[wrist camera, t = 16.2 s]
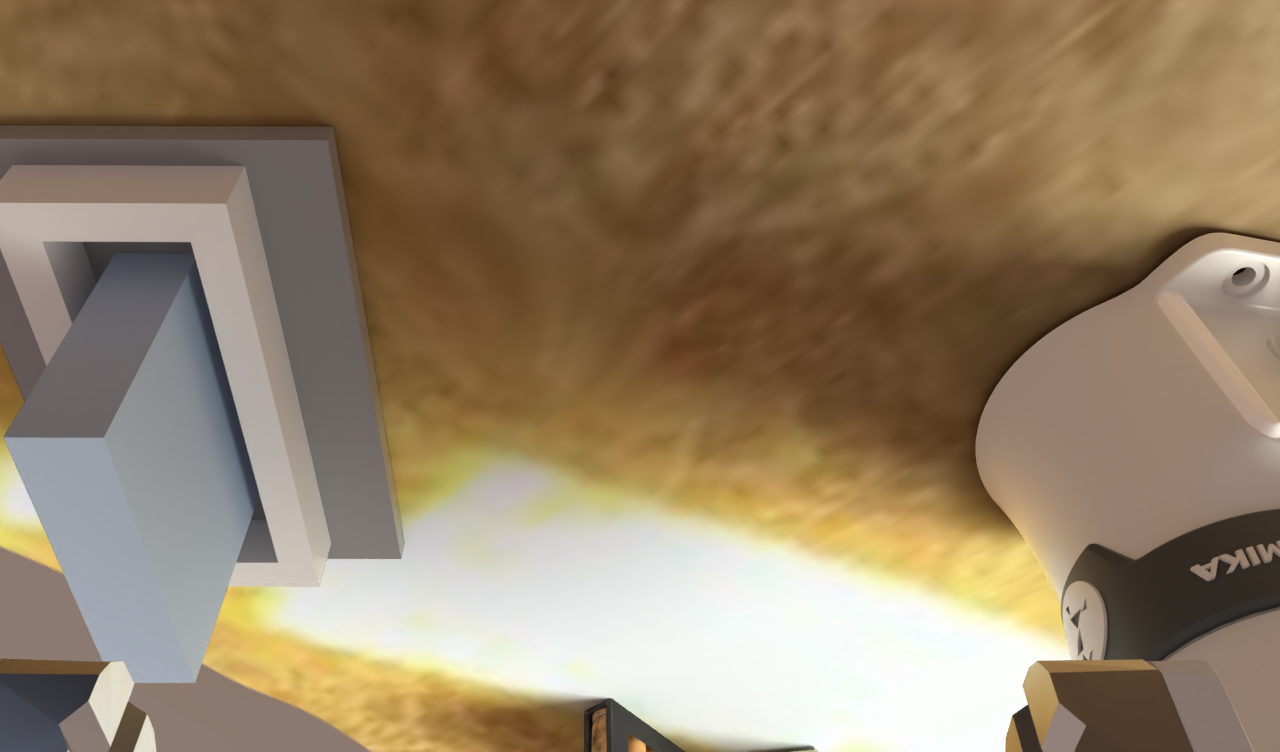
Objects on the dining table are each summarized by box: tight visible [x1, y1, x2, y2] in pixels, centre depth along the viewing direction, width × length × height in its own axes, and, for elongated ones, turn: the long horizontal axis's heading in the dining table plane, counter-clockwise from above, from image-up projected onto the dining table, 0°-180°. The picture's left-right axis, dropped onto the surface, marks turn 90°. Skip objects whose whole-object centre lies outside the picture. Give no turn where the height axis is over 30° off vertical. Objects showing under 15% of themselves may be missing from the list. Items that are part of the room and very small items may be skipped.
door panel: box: [3, 253, 260, 683], centre depth 44 cm, size 3×12×10 cm, turn 0°
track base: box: [0, 125, 404, 586], centre depth 47 cm, size 14×21×4 cm, turn 0°
